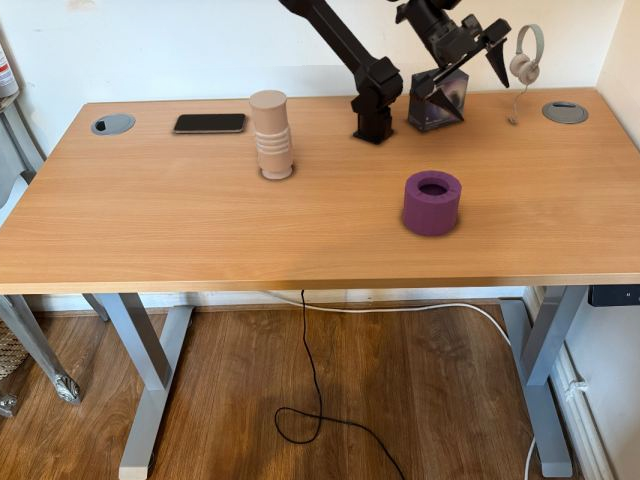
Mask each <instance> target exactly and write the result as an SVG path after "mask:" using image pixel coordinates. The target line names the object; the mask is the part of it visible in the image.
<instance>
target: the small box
mask: <svg viewBox="0 0 640 480" xmlns="http://www.w3.org/2000/svg"><path fill="white" fill-rule="evenodd" d="M451 65H453V64H451V63H450V64H449V65H448V66H447V67H446V68H449V67H450V66H451ZM439 70H440V69H439V67H435V68H432V69H429V70H428V69H427V70H424V71H421V72H417V73H413V74H411V81H410V88H411V87H412V86H413V85H414V84H415V83H417V82H418V81H419V80H420V79H422V78H423V77H424V76H426V75H427V74H429V75H430V76H432V75H434V74H435V73H436V72H438V71H439ZM448 71H449V70H448ZM469 79H470V75H469V74H467V73H466V72H465V71H463V70H462V69H461V68H458V69H457V70H456V71H454V72H453V73H452V74H451V75H449V76H448V77H447V78H445V79H444V80H443V81H441V82H440V83H439V84H438V85H436V88H437V89H439V88H441V89H442V91H443V92H444V94H445V96H446V97H447V98H448V99H449V100H450V102H451V103H452V104H453V105H454V106H455V107H456V109H457V110H458V111H459V112H460V114H461V115H462V116H463V113H464V108H465V103H466V96H467V89H468V85H469ZM423 102H424V100H422V101H421V102H420V103H418V104H417V105H415V104H414V102H413V101H412V99H411V98H410V97H409V103H408V110H407V111H408V112H407V118H406V120H407V122H408V123H410V124H411V125H412V126H414V127H415V128H416V129H417V130H418V131H420V132H421V133H426V132H428V131H432V130H435V129H438V128H442V127H445V126H448V125H452V124H457V123H459V122H461V121H460V120H458V119H457V118H455V117H454V116H452V115H451V114H450V113H448V112H447V111H445V110H444V109H442V108H440V107H438V106H436V105H434V104H432V103H430V102H428V103H427V104H424V103H423Z"/></svg>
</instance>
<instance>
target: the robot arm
mask: <svg viewBox="0 0 640 480" xmlns="http://www.w3.org/2000/svg"><path fill="white" fill-rule="evenodd" d="M277 1H278V2H279V3H280V4H281V5H282V6H283V7H284V8H285V9H286V10H287V11H288V12H289V13H291V14H293V15H295V16H298V17H300V18H303V19H304V20H306V21H307V22H308V23H309V24H310V26H311V27H312V28H313V29H314V30H315V32H317V34H318V35H319V37H321V38H322V39H323V41H324V42H325V43H326V44H327V45H328V47H329V48H330V49H331V50H332V52H334V54H335V56H337V57H338V58H339V59H340V61H341V62H342V64H344V66H345V67H346V68H347V70H349V72H350V73H351V74H352V76H353V79H354V85H355V89H356V92H357V93H358V95H356V97H355V98H353V99H352V100H350V106H351V110H352V112H353V113H354V114H357V129H356V130H355V131H354V132H353V133H352V137H354V138H358V139H359V140H363V141H366V142H369V143H371V144H374V145H380V144H381V143H382V142H383V141H384V140H386V139H388V138H389V137H390V136H391V135H392V134H393V133H395V129H393V115H391V114H392V107H390V105H392V104H395V103H396V101H397V98H399V97H400V96H401V95H402V93H403V92H404V79H403V76H402V75H401V73H400V72H401V69H400V68H398V67H396V66H395V65H394V63H393V62H392V60H391V58H389V57H388V56H387V55H384V56H383V57H381V58H376V57H374V56H373V55H372V54H371V53H370V52H369V51H368V49H366V47H365V46H364V45H363V44H362V42H361V41H360V40H359V39H358V38H357V37H356V35H355V34H354V33H353V31H352V30H351V29H349V27H348V26H347V24H346V23H345V22H344V21H343V20H342V19H341V18H340V16H339V15H338V14H337V12H336V11H334V9H333V8H332V6H330V4H329V3H328V2H327V0H277ZM386 1H387V2H389V3H396V2H399V1H400V0H386ZM462 1H463V0H408V1H407V2H406V3H405V2H404V3H401V4H399V5H397V6H396V8H395V9H396V15H395V20H394V24H396V25H399V24H401V23H403V22H405V21H407V22H408V24H409V25H410V26H411V28H412V30H413V31H414V32H415V34H416V36H417V37H418V39H419V40H420V42H421V43H422V44H423V47H424V48H425V49H426V51H427V52H428V53H429V55H430V56H431V57H432V59H433V61H434V62H435V64H436V65H437V68H439V69H440V70H439V71H438V72H436V73H435V74H434V75H432V76H430V75H429V74H427V75H426V76H424V77H423V78H422V79H420V80H419V81H418V82H417V83H415V84H414V85H413V86H412V87H411V86H410V88H409V92H408V96H409V99H410V98H411V99H412V101H413V102H414V104H415V105H417V104H418V103H420V102H421V101H422V100H424V102H423V103H424V104H427V103H428V102H430V103H432V104H434V105H436V106H438V107H440V108H442V109H444V110H445V111H447V112H448V113H450V114H451V115H452V116H454V117H455V118H457V119H458V120H460V121H459V122H461V123H464V122H465V118H464V117H463V115H461V114H460V112H459V111H458V110H457V109H456V107H455V106H454V105H453V104H452V103H451V102H450V100H449V99H448V98H447V97H446V96H445V94H444V92H443V91H442V89H441V88H439V89H437V88H436V85H438V84H439V83H440V82H441V81H443V80H444V79H445V78H447V77H448V76H449V75H451V74H452V73H453V72H454V71H456V70H457V69H458V68H459V69H461V67H462V66H463V65H465V64H466V63H468V62H470V60H472V59H473V58H474V57H475V56H477V55H478V54H479V53H481V52H482V51H483V50H485V51H486V53H485V54H484V56H485V58H486V60H487V62H488V63H489V65H490V67H491V68H492V70H493V71H494V73H495V75H496V76H497V78H498V79H499V81H500V83H501V84H502V85H503V86H504V88H505V89H509V88H510V86H511V85H510V81H509V76H508V73H507V68H506V64H505V59H504V58H505V57H504V44H506V42H507V41H508V36H507V35H508V34H509V33H510V32H511V31H512V30H513V28H512V27H511V25H510V24H509V22H508V20H506V19H504V18H501V17H499V18H498V19H496V20H495V21H493V22H492V23H491V24H490V25H488V26H487V27H486V28H484V29H483V26H482V25H481V23H480V21H479V20H478V18H477V17H476V16H475V14H474V13H469V14H468V15H466V16H465V17H464V18H463V19H462V20H461V21H460V23H461V25H460V26H458V25H457V23H456V22H455V21H454V19H453V18H450V15H449V14H448V13H447V12H446V11H452V10H454V9H455V8H456V7H457V6H458V5H459V4H460V3H461V2H462ZM475 39H477V40H475ZM451 64H453V65H451ZM448 65H451V66H450V67H449V68H446V67H447V66H448ZM448 70H449V71H448Z"/></svg>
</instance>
